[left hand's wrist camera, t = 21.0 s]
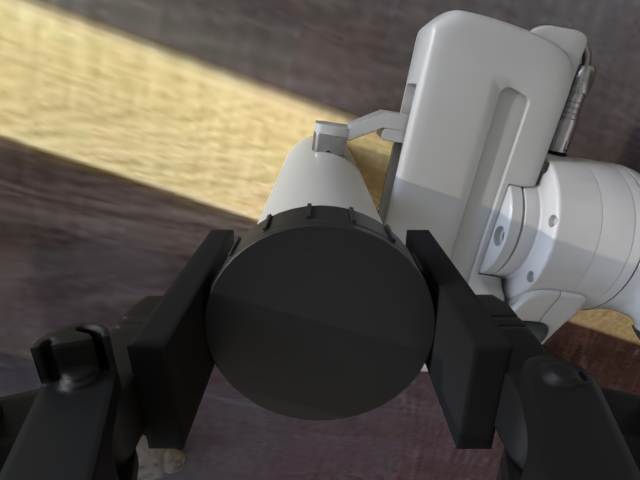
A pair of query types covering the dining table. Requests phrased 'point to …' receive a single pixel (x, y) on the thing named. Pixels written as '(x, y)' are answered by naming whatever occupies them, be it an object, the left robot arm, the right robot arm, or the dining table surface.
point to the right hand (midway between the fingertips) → (304, 193)
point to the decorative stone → (157, 461)
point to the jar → (319, 182)
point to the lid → (320, 314)
